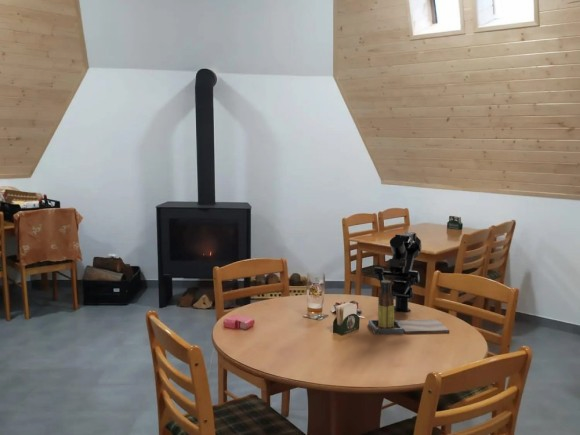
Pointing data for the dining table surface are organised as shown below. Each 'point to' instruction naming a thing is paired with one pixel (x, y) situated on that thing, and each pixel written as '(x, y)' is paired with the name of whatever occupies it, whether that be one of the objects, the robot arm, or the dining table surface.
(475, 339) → the dining table surface
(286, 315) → the dining table surface
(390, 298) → the sauce bottle
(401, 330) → the grey square frame
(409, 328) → the brown flat slab
